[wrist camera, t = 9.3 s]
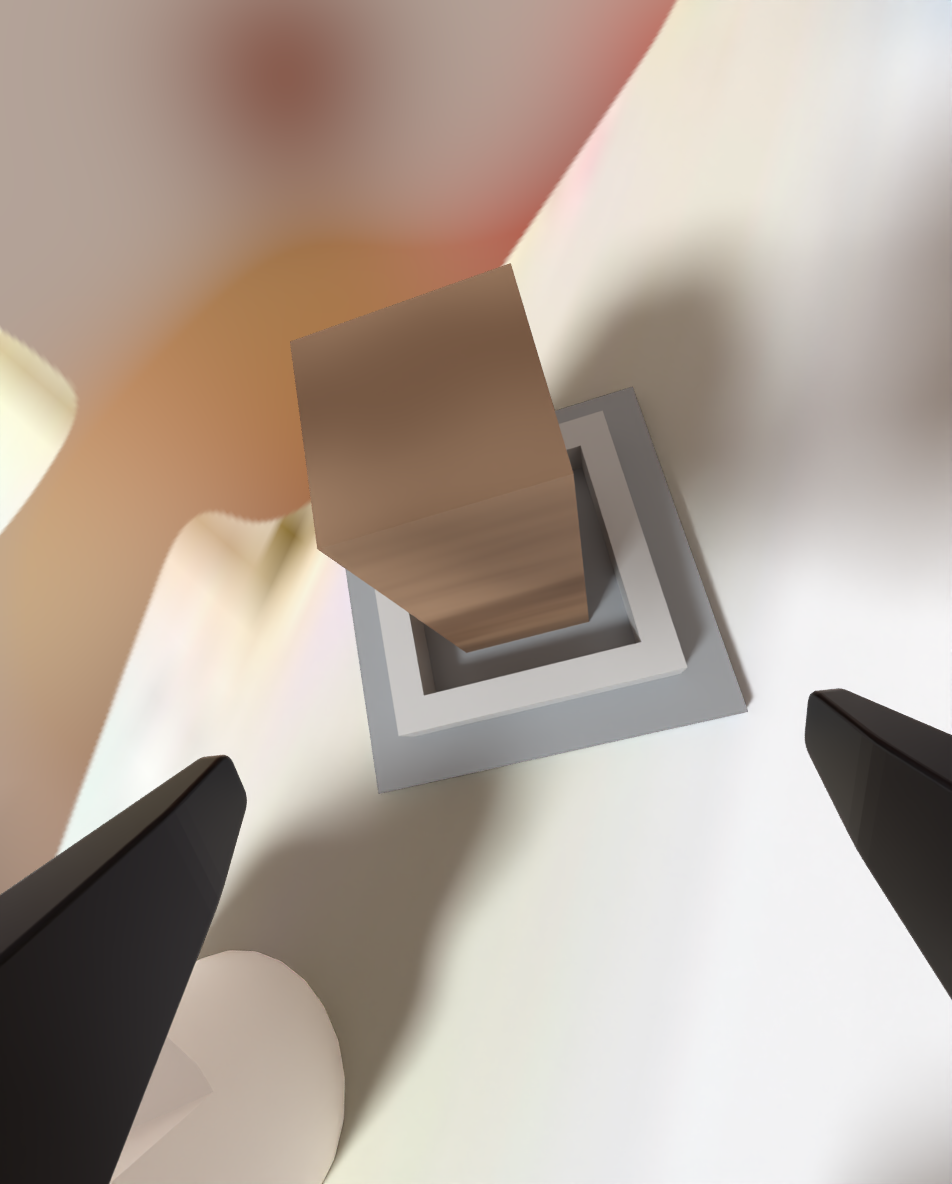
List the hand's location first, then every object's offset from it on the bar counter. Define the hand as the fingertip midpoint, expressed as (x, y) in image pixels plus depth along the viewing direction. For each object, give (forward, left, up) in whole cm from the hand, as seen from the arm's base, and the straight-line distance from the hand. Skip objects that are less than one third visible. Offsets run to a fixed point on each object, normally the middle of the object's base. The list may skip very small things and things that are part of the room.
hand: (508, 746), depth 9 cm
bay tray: (+7, -1, -13) cm, 15 cm away
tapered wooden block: (+7, -1, -13) cm, 15 cm away
